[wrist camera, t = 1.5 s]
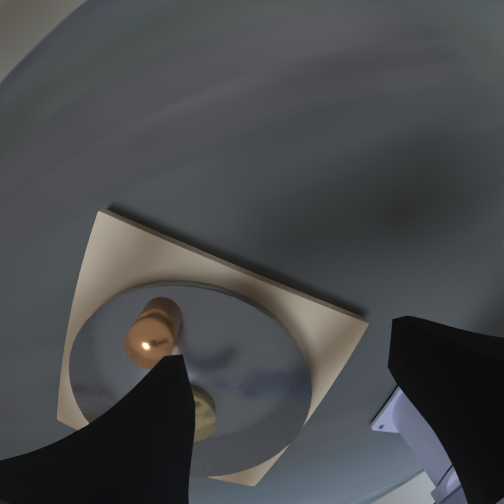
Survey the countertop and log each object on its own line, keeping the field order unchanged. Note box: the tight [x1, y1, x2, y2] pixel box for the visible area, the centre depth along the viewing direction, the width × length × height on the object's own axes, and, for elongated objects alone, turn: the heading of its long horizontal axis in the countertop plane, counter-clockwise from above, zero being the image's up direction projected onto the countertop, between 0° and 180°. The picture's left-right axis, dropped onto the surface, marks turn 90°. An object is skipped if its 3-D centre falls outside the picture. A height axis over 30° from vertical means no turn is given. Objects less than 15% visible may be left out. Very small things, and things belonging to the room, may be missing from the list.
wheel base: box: [57, 209, 369, 486], centre depth 18 cm, size 17×17×1 cm
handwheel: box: [69, 280, 312, 477], centre depth 15 cm, size 15×15×5 cm
